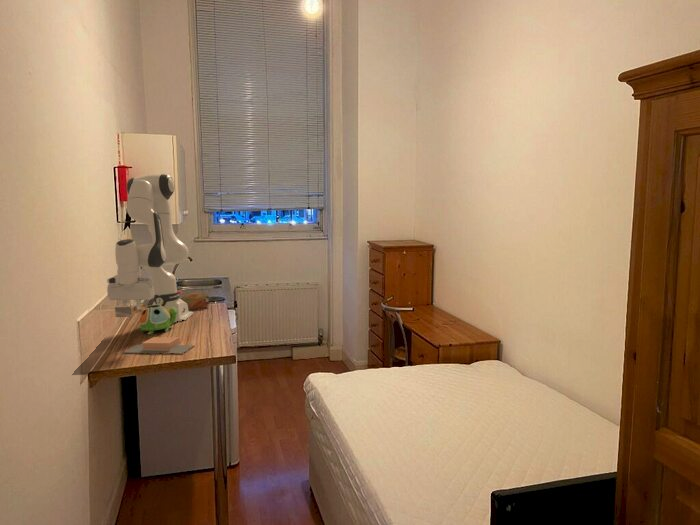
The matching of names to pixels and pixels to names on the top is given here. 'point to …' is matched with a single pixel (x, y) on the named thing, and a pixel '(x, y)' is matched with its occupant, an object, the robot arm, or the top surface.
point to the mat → (177, 350)
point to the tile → (161, 343)
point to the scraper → (129, 310)
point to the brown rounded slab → (196, 300)
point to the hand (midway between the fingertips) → (132, 309)
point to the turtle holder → (157, 318)
